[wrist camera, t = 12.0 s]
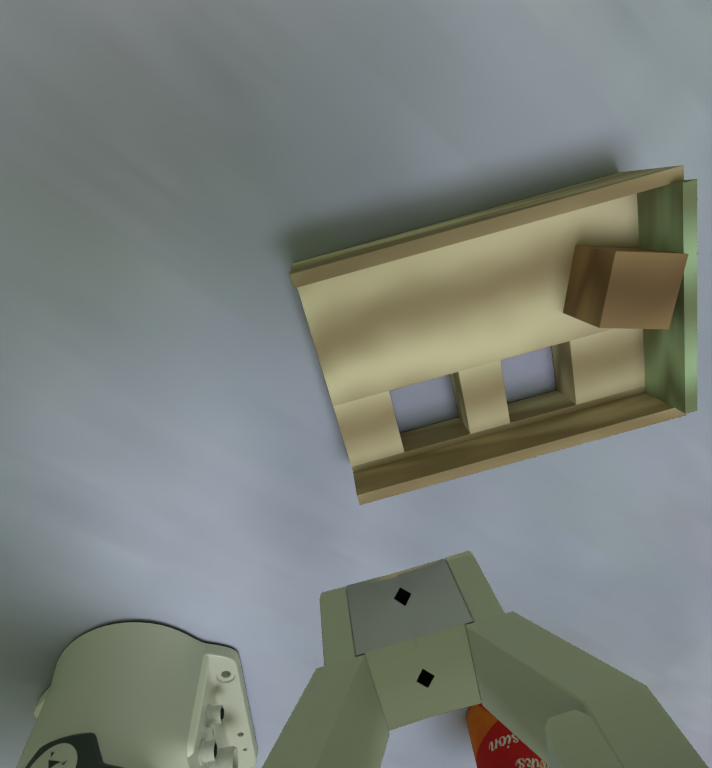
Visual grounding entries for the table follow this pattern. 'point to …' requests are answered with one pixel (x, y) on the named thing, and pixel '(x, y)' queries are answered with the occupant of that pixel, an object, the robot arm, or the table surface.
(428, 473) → the trap track
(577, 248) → the walnut block
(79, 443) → the table surface
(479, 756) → the coffee cup
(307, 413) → the table surface
